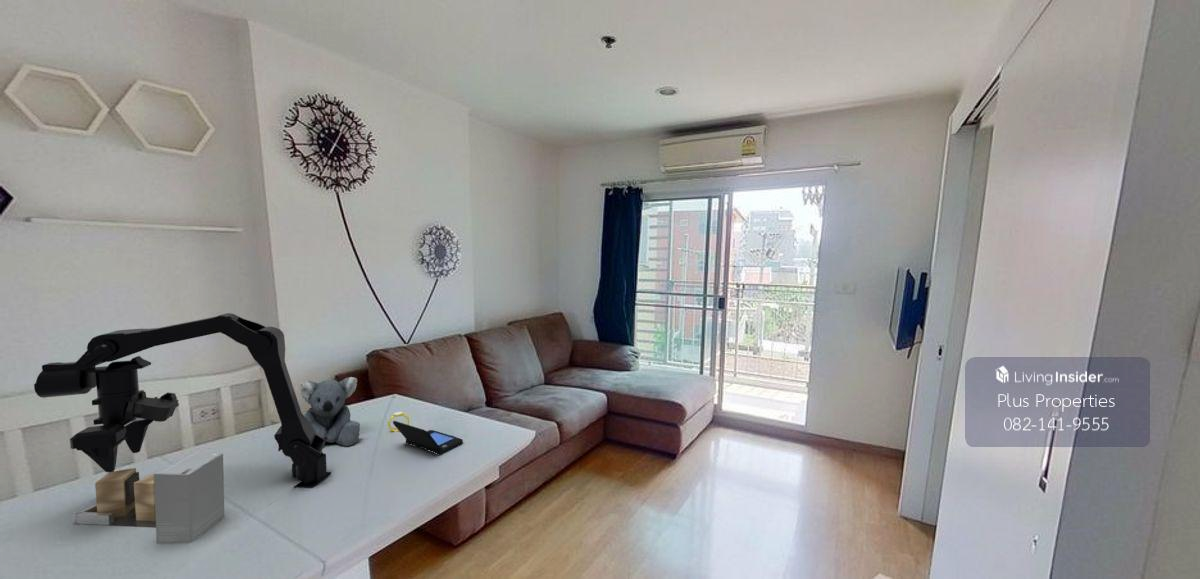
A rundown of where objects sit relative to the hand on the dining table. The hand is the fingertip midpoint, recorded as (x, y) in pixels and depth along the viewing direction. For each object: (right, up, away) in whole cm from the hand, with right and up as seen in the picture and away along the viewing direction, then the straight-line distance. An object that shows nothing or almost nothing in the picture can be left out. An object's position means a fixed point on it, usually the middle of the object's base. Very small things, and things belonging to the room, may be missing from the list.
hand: (124, 461), depth 88 cm
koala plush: (+18, -10, +39) cm, 44 cm away
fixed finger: (+9, -11, -1) cm, 14 cm away
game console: (+51, -11, +35) cm, 63 cm away
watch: (+36, -9, +46) cm, 59 cm away
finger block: (0, -10, -1) cm, 10 cm away
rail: (+5, -12, -1) cm, 13 cm away
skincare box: (+21, -13, -6) cm, 25 cm away
